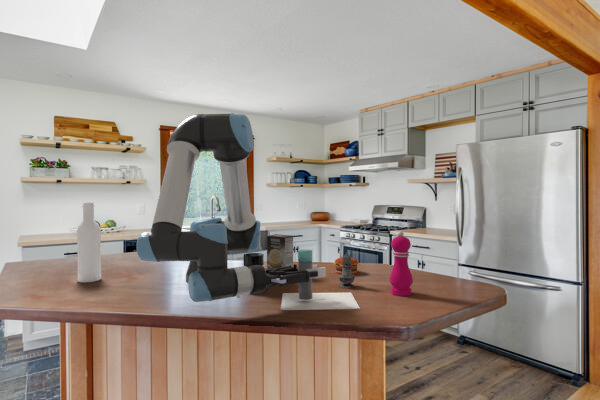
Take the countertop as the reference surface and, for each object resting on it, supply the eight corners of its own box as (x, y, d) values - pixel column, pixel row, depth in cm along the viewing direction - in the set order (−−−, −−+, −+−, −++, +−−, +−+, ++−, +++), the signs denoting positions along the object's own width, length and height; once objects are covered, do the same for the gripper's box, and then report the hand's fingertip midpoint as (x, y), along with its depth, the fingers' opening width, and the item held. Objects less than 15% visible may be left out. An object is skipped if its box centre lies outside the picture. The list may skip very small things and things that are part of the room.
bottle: (79, 283, 131) (78, 202, 131) (75, 280, 137) (74, 202, 137) (103, 280, 136) (102, 202, 136) (98, 276, 142) (97, 201, 142)
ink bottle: (259, 294, 115) (258, 257, 114) (235, 292, 118) (234, 256, 118) (271, 287, 124) (271, 252, 124) (249, 285, 127) (248, 251, 127)
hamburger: (330, 272, 148) (330, 256, 148) (349, 269, 152) (349, 254, 152) (342, 276, 140) (342, 259, 140) (363, 274, 144) (362, 257, 144)
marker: (298, 299, 103) (298, 251, 103) (298, 295, 107) (298, 249, 107) (312, 299, 103) (312, 251, 103) (312, 295, 107) (312, 249, 107)
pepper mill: (400, 298, 109) (400, 233, 109) (384, 292, 116) (384, 231, 116) (417, 294, 113) (417, 231, 113) (401, 289, 119) (401, 229, 119)
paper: (280, 310, 99) (280, 308, 99) (282, 294, 115) (282, 293, 115) (359, 309, 99) (359, 307, 99) (350, 293, 115) (350, 292, 115)
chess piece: (355, 288, 121) (354, 253, 120) (337, 288, 122) (337, 253, 122) (355, 284, 126) (355, 250, 126) (339, 283, 128) (338, 250, 127)
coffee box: (266, 275, 142) (265, 235, 141) (275, 272, 147) (275, 234, 147) (285, 278, 137) (284, 236, 136) (294, 275, 142) (293, 235, 142)
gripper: (237, 287, 104) (306, 277, 115) (261, 301, 89) (337, 288, 101) (237, 261, 103) (306, 254, 115) (261, 271, 89) (337, 262, 101)
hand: (320, 270), depth 108 cm, fingers closed on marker, 4 cm apart
